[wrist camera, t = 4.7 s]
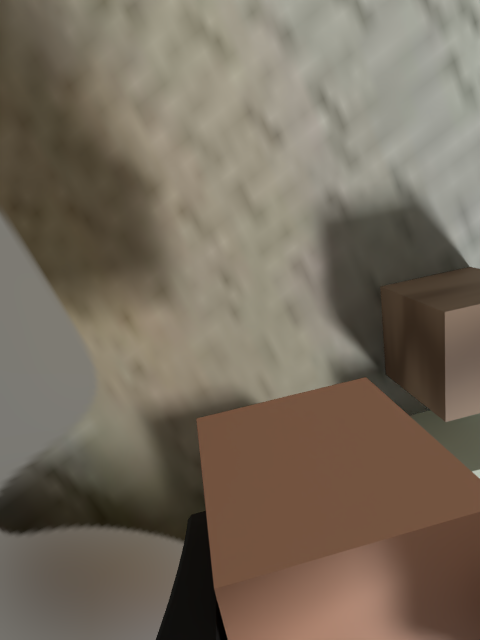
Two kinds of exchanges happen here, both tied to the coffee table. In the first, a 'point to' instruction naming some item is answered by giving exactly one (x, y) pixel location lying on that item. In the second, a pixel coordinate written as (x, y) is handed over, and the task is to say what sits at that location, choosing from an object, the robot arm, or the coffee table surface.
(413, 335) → the walnut block
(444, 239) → the coffee table surface
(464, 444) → the sage block
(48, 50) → the coffee table surface
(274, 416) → the terracotta block
